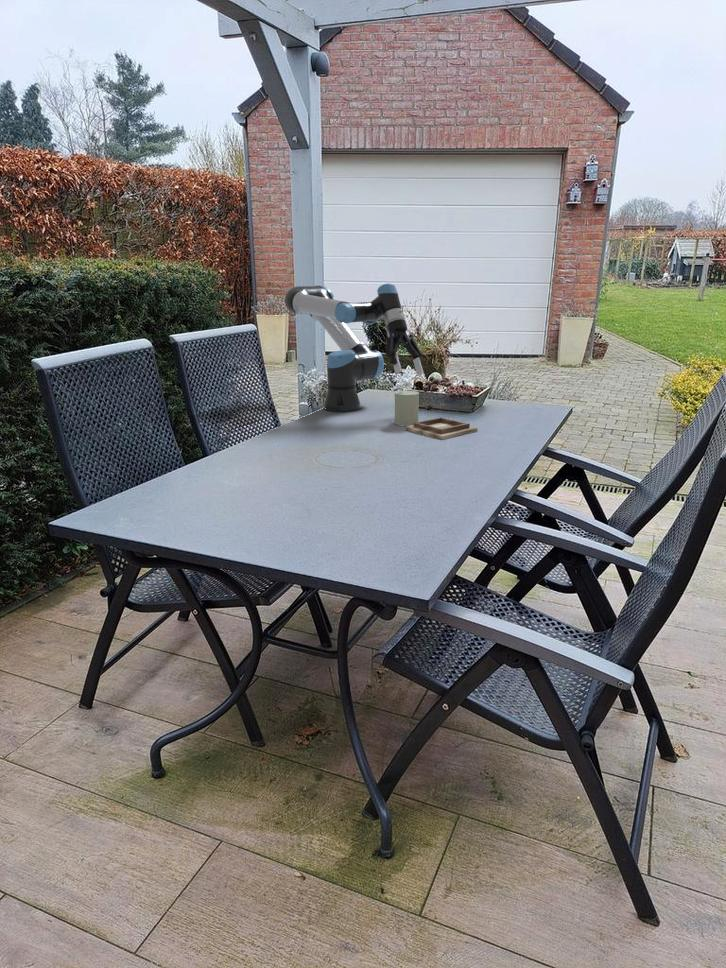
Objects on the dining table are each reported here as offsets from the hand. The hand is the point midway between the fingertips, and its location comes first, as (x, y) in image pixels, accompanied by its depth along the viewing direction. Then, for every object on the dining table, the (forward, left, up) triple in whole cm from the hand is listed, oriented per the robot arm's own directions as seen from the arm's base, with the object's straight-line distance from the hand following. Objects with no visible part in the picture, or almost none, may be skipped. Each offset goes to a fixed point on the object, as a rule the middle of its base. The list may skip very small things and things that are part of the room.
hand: (409, 373), depth 248 cm
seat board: (+27, -10, -17) cm, 33 cm away
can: (+10, -11, -17) cm, 22 cm away
